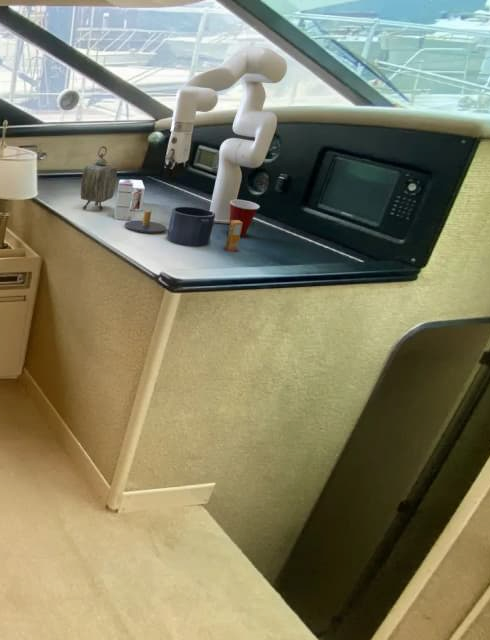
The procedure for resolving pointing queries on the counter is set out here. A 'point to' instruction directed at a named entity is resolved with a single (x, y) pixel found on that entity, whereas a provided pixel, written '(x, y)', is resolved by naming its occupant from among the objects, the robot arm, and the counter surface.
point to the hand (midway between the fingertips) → (172, 178)
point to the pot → (190, 226)
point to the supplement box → (234, 235)
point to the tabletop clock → (98, 181)
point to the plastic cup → (243, 213)
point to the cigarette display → (137, 195)
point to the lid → (145, 224)
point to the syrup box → (124, 199)
